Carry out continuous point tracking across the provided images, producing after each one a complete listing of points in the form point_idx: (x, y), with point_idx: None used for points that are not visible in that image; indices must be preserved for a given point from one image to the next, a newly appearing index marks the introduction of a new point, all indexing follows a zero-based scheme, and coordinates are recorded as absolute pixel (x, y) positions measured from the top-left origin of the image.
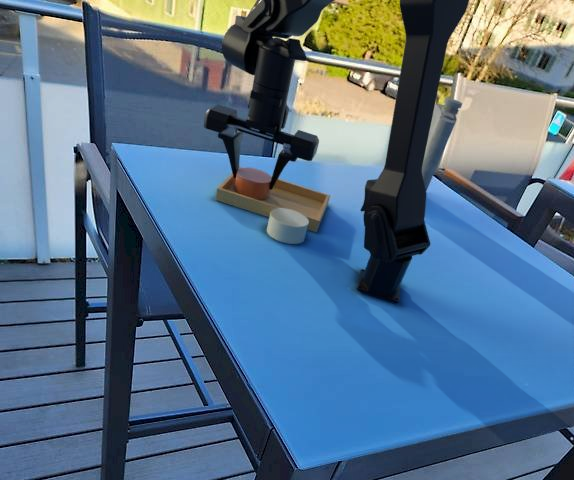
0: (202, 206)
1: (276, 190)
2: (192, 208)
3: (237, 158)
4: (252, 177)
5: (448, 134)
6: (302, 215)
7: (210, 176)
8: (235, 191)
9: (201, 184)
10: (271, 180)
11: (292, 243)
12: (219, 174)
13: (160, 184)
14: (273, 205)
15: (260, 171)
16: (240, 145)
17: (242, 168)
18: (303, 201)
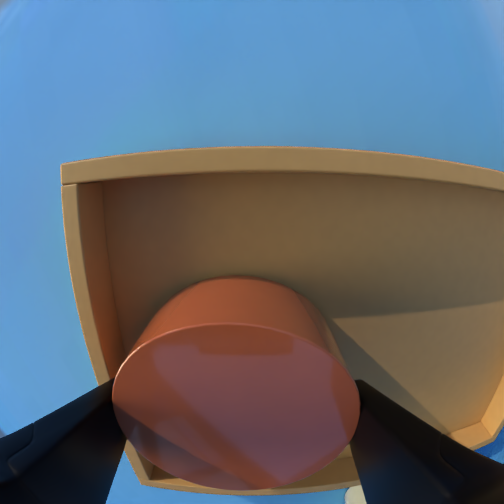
0: (150, 486)
1: (362, 221)
2: (141, 496)
3: (87, 474)
4: (235, 462)
5: None
6: None
7: (23, 268)
8: None
9: (50, 369)
10: (357, 460)
11: None
12: (32, 210)
13: (17, 421)
14: None
15: (249, 350)
16: (20, 483)
17: (124, 389)
18: (488, 257)
